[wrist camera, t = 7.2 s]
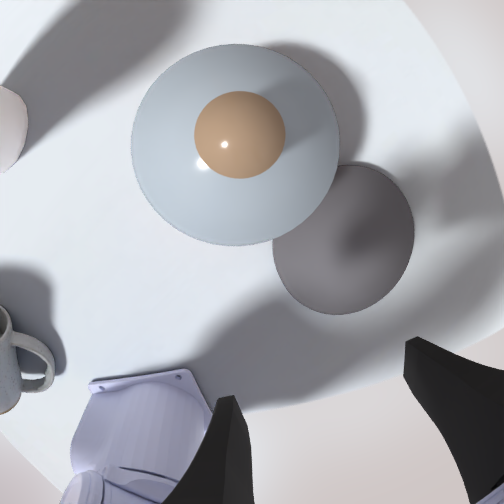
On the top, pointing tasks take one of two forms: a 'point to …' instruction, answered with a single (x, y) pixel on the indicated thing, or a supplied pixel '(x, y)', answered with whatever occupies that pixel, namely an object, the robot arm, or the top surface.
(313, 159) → the lid
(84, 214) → the top surface
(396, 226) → the mat
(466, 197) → the top surface
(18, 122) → the foam cup
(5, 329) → the ceramic mug
